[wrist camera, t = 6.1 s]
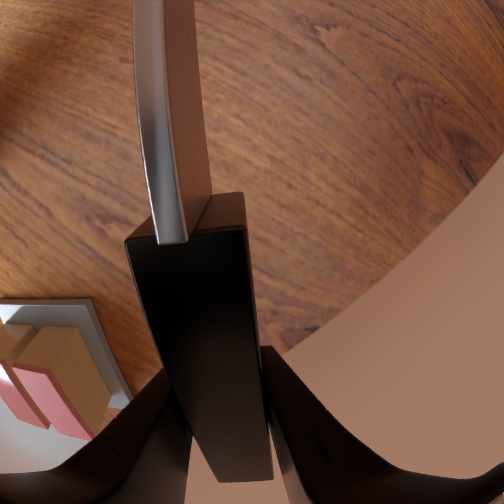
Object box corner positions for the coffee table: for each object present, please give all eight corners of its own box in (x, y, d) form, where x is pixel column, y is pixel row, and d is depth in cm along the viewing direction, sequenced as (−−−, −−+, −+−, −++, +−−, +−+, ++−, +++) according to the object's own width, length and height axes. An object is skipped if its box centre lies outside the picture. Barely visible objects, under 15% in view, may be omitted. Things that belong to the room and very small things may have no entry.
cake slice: (43, 325, 19) (10, 366, 13) (78, 327, 19) (46, 374, 13) (79, 391, 22) (59, 433, 16) (112, 395, 22) (94, 442, 16)
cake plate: (0, 298, 19) (-39, 336, 13) (91, 298, 19) (49, 352, 13) (47, 389, 23) (25, 430, 17) (136, 402, 23) (120, 457, 17)
